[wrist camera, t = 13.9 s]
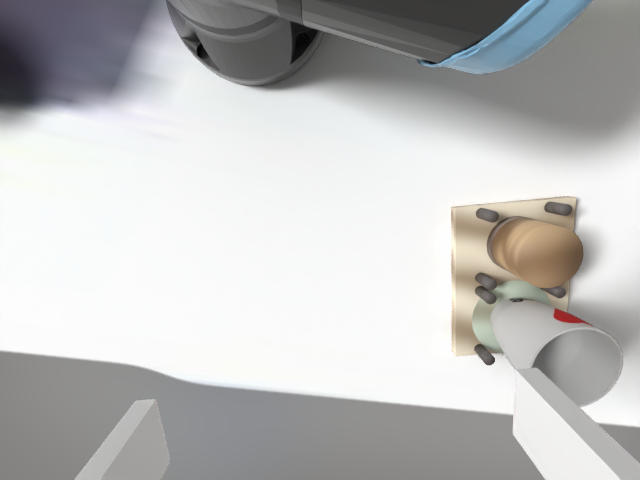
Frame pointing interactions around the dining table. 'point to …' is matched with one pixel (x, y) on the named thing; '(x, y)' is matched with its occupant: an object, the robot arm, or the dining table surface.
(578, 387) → the cup
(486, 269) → the pin board
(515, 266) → the wooden round post
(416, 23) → the robot arm
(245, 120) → the dining table surface
